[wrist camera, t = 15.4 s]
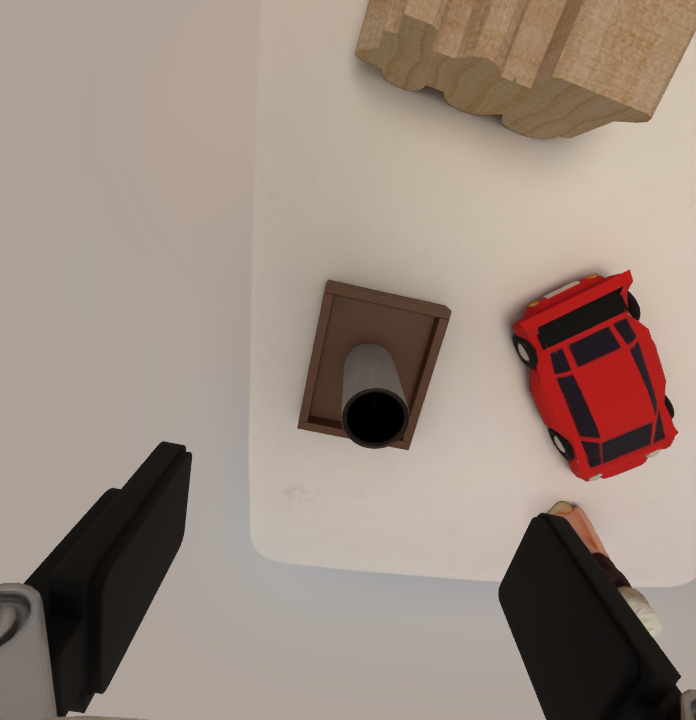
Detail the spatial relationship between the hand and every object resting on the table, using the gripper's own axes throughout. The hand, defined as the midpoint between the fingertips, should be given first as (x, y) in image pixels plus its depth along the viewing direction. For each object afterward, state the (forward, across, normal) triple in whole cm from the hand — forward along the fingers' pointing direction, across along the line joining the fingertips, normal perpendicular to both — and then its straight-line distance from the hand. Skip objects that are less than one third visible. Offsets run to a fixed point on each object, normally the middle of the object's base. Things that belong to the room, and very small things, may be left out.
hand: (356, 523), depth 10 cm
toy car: (+25, -23, +2) cm, 34 cm away
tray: (+25, -3, +4) cm, 26 cm away
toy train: (+26, -5, -20) cm, 33 cm away
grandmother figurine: (+25, -27, +16) cm, 40 cm away
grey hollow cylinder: (+25, -3, +4) cm, 26 cm away
